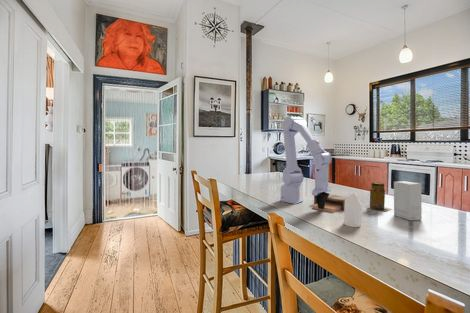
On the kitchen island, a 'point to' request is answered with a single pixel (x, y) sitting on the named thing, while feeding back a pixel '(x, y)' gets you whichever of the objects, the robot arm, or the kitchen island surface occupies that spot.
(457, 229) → the kitchen island surface
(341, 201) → the shelf
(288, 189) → the robot arm
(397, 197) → the skincare box
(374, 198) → the condiment
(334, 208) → the tile
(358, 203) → the white pointed crystal
